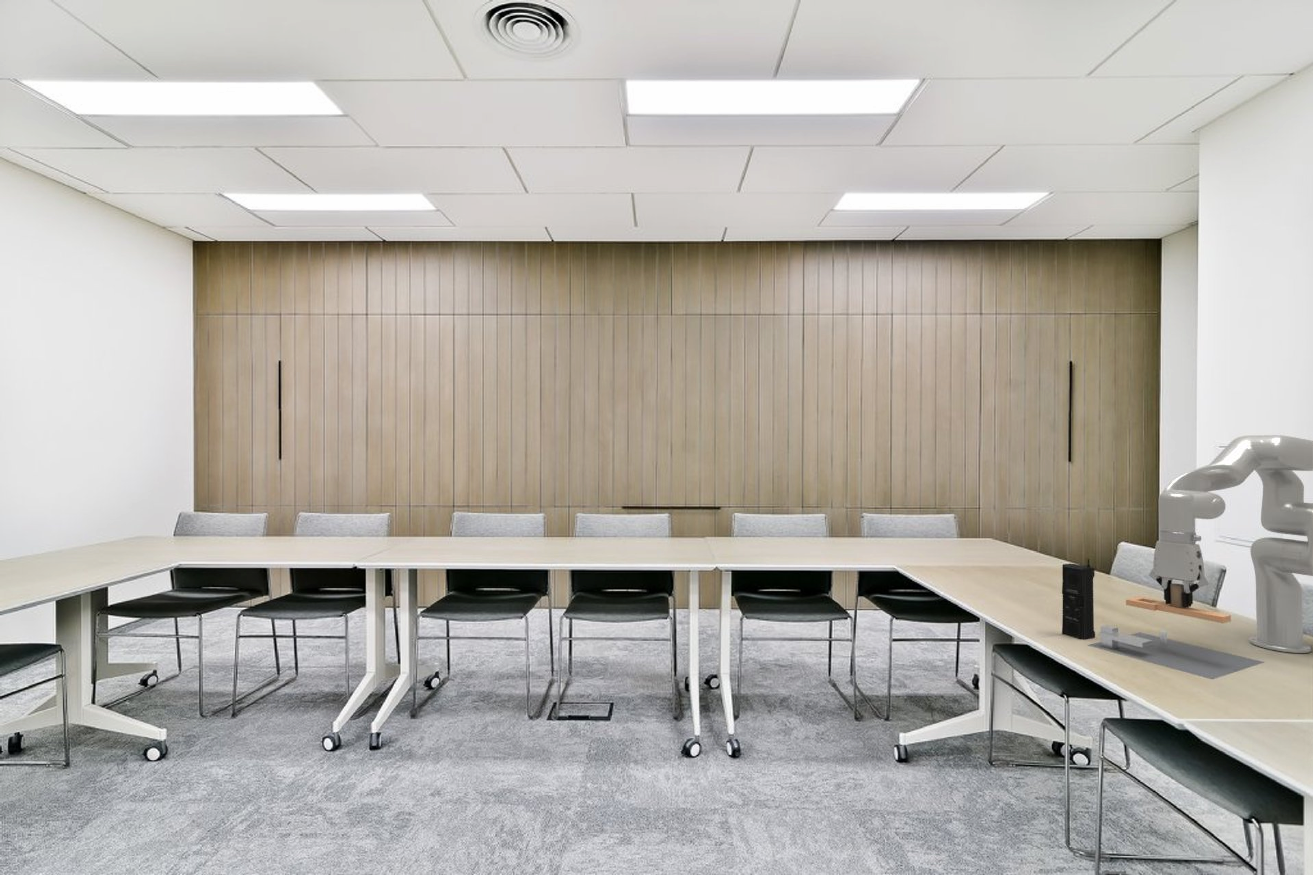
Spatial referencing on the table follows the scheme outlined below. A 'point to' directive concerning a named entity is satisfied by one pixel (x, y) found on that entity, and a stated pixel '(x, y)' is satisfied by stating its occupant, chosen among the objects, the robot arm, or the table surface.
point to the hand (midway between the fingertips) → (1178, 604)
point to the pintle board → (1183, 656)
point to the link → (1177, 606)
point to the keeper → (1120, 638)
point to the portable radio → (1078, 601)
